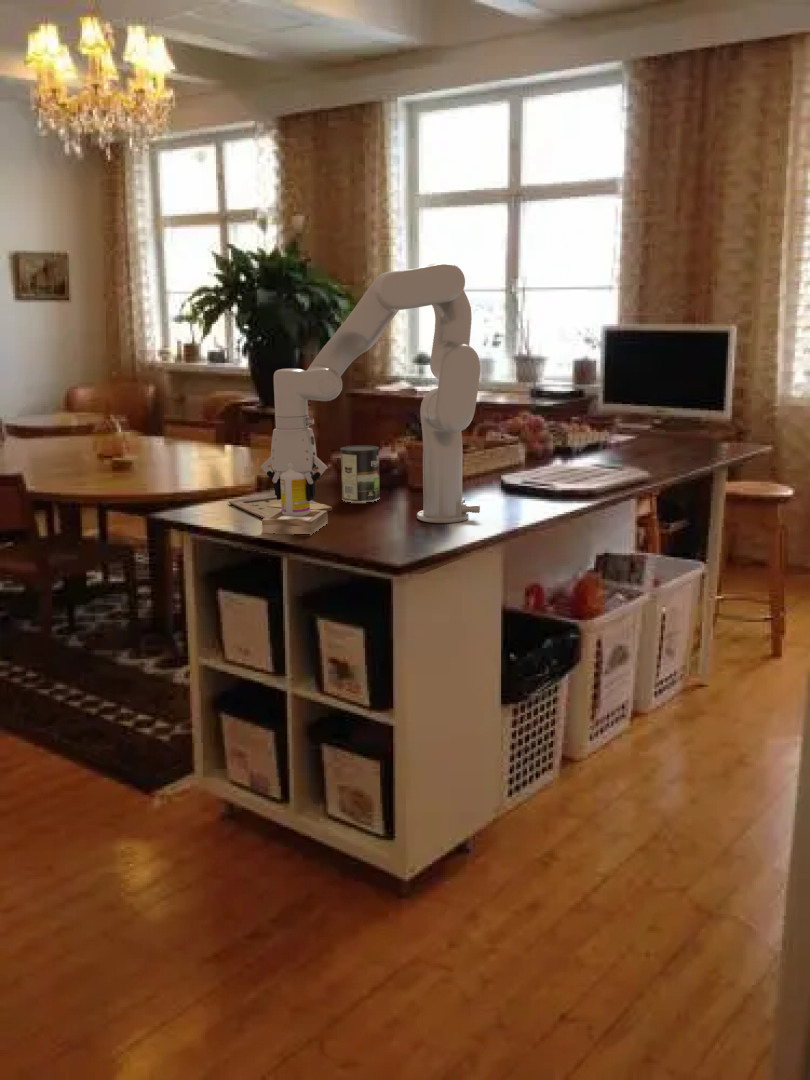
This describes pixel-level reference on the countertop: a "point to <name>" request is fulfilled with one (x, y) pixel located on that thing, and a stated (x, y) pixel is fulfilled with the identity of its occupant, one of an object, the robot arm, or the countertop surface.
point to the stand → (294, 523)
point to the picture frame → (269, 505)
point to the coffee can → (360, 473)
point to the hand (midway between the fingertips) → (295, 498)
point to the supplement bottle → (294, 493)
